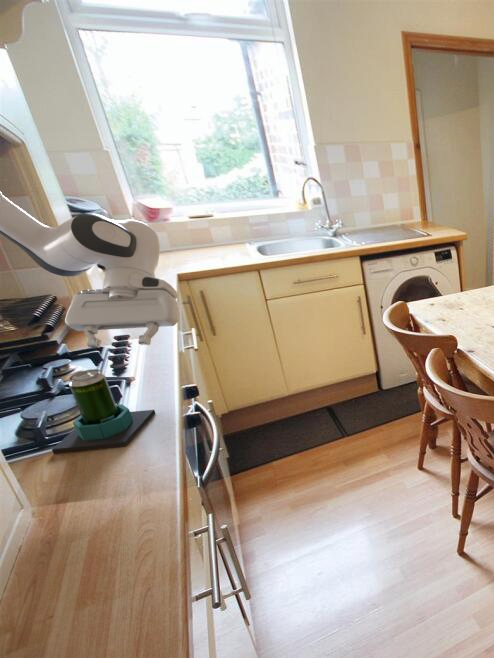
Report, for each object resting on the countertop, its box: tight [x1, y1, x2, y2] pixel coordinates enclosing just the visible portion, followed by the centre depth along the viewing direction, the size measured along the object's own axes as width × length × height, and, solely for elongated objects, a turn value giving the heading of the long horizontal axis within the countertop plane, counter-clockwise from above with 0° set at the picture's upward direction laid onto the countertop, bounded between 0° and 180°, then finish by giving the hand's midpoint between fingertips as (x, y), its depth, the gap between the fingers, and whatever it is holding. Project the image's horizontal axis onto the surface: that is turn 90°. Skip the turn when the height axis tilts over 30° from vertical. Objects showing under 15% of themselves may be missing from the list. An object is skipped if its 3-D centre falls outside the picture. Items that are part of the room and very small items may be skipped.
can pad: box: [51, 403, 156, 455], centre depth 93 cm, size 12×12×4 cm
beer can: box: [67, 368, 120, 425], centre depth 91 cm, size 5×5×12 cm
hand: (119, 345), depth 99 cm, fingers open, 8 cm apart
